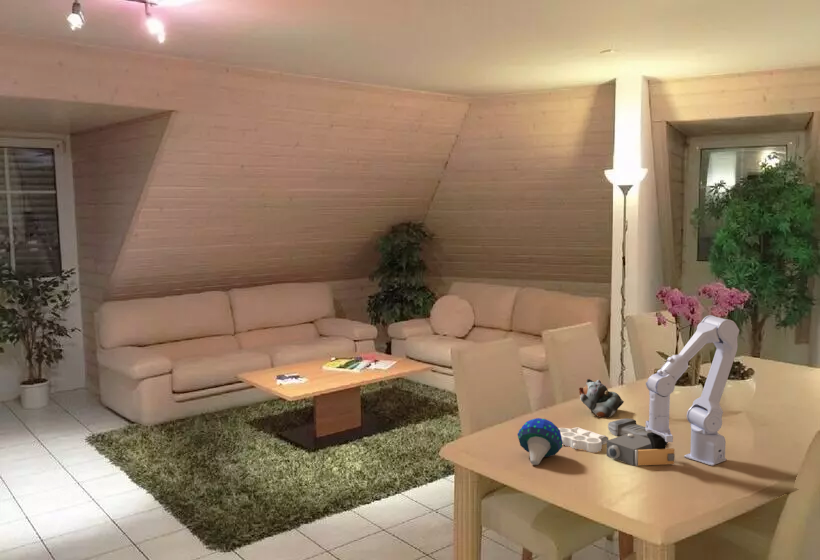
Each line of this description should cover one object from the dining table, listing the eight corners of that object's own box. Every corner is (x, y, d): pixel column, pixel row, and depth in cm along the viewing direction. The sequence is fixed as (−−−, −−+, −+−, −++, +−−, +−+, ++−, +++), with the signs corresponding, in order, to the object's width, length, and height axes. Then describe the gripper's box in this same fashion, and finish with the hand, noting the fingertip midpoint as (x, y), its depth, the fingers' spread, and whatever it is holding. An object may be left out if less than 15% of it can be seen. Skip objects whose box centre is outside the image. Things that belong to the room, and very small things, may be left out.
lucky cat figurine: (607, 420, 251) (589, 386, 252) (584, 425, 261) (566, 392, 262) (630, 401, 260) (612, 368, 261) (607, 406, 270) (589, 375, 270)
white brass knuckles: (616, 446, 226) (587, 456, 217) (572, 432, 240) (544, 441, 231) (616, 436, 225) (588, 446, 217) (572, 423, 240) (544, 432, 231)
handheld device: (653, 450, 221) (653, 436, 221) (604, 433, 238) (604, 420, 238) (672, 444, 227) (672, 430, 226) (623, 428, 243) (623, 415, 243)
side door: (675, 464, 207) (675, 449, 207) (636, 466, 206) (636, 451, 206) (672, 462, 209) (673, 448, 209) (634, 464, 208) (634, 449, 208)
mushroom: (514, 444, 206) (524, 404, 215) (509, 468, 216) (519, 429, 226) (561, 457, 202) (569, 416, 212) (554, 481, 212) (562, 440, 222)
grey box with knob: (657, 456, 215) (658, 439, 214) (630, 466, 207) (630, 448, 207) (630, 447, 223) (631, 431, 222) (603, 457, 215) (603, 439, 215)
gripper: (636, 407, 216) (635, 449, 217) (656, 421, 201) (655, 466, 203) (658, 406, 216) (657, 448, 218) (680, 420, 202) (678, 465, 203)
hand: (658, 457), depth 210 cm, fingers closed
